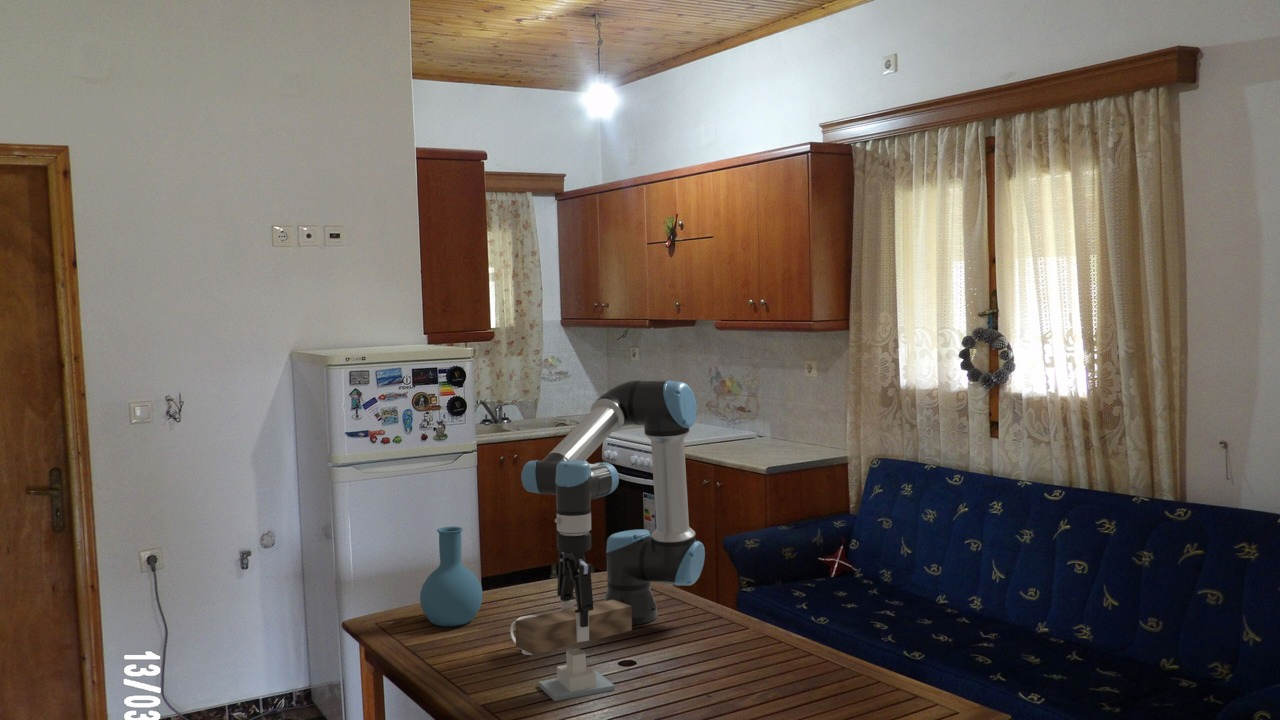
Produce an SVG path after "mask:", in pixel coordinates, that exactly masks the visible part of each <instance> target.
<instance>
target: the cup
mask: <svg viewBox="0 0 1280 720" xmlns="http://www.w3.org/2000/svg"><path fill="white" fill-rule="evenodd" d="M536 616H537V615H531V614H530V615H529V614H528V615H525V616H520V617H518V618H517V619H516V620H514V621H512V622H511V624H510V628H509V629H510V632H509V633H510V638H511V640H512V641H513V643H514V644H515V645H516V636H515V634H514V626H515V625H516V621H517V620H522V619H526V618H531V617H536ZM520 650H521V653H522V654H523V655H524V656H526V655H527V656H533V654H531V653H529V652H527V651H525V650H522V649H520Z"/></svg>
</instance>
